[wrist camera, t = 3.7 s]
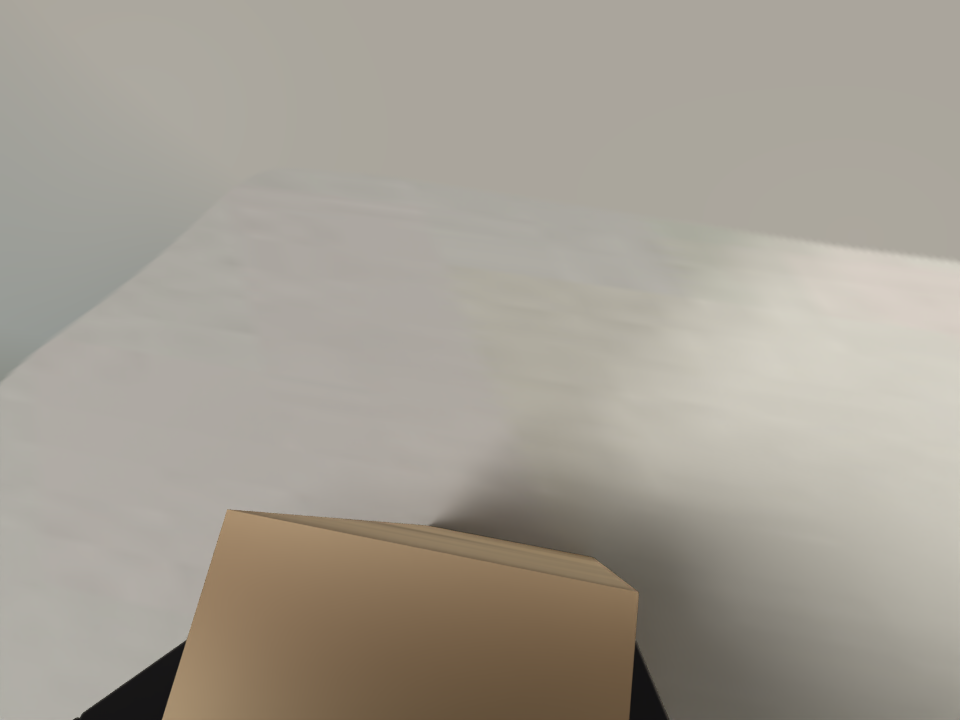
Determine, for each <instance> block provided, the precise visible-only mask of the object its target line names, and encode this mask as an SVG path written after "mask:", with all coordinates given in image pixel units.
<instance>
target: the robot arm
mask: <svg viewBox="0 0 960 720" xmlns="http://www.w3.org/2000/svg"><path fill="white" fill-rule="evenodd" d="M186 641H187V640H186ZM186 641H184V642H183V643H181V644H180V645H179V646H177V647H176V648H174V649H173V650H171V651H170V652H169V653H167V654H166V655H164V656H163V657H162V658H160V659H159V660H157V661H156V662H154V663H153V664H152V665H150V666H149V667H147V668H146V669H144V670H143V671H142V672H140V673H139V674H137V675H136V676H135V677H133V678H132V679H130V680H129V681H127V682H126V683H125V684H123V685H122V686H120V687H119V688H117V689H116V690H115V691H113V692H112V693H110V694H109V695H108V696H106V697H105V698H103V699H102V700H100V701H99V702H98V703H96V704H95V705H93V706H92V707H90V708H89V709H88V710H86V711H85V712H83V713H82V715H81V717H80V718H79V717H77V718H75V719H73V720H162V718H163V715H164V712H165V709H166V705H167V702H168V699H169V696H170V692H171V689H172V686H173V683H174V680H175V676H176V673H177V670H178V667H179V663H180V660H181V657H182V654H183V651H184V647H185V644H186ZM629 720H669V718H668V715H667V713H666V710H665V708H664V706H663V703H662V701H661V699H660V696H659V694H658V691H657V689H656V687H655V684H654V682H653V680H652V677H651V675H650V672H649V670H648V668H647V665H646V663H645V661H644V658H643V656H642V653H641V651H640V649H639V646H638V644H637V642H636V640H635V650H634V662H633V675H632V688H631V701H630V714H629Z"/></svg>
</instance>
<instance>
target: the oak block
mask: <svg viewBox="0 0 960 720" xmlns="http://www.w3.org/2000/svg"><path fill="white" fill-rule="evenodd" d="M638 598H639V592H638V591H637V590H635V589H634V588H633V587H631V586H630V585H629V584H627V583H626V582H625V581H623V580H622V579H621V578H620V577H618V576H617V575H616V574H614V573H613V572H612V571H610V570H609V569H608V568H607V567H605V566H604V565H603V564H601V563H600V562H599V561H597V560H596V559H595V558H593V557H589V556H584V555H578V554H573V553H568V552H563V551H558V550H552V549H547V548H542V547H537V546H531V545H526V544H521V543H516V542H511V541H505V540H500V539H495V538H490V537H484V536H479V535H474V534H469V533H464V532H458V531H453V530H448V529H443V528H437V527H432V526H426V525H414V524H401V523H389V522H377V521H364V520H352V519H339V518H327V517H315V516H302V515H290V514H278V513H265V512H253V511H241V510H228V509H227V512H226V515H225V519H224V522H223V525H222V528H221V531H220V535H219V538H218V541H217V544H216V548H215V551H214V554H213V557H212V560H211V564H210V567H209V570H208V573H207V577H206V580H205V583H204V586H203V589H202V593H201V596H200V599H199V602H198V606H197V609H196V612H195V615H194V618H193V622H192V625H191V628H190V631H189V635H188V638H187V641H186V644H185V647H184V651H183V654H182V657H181V660H180V663H179V667H178V670H177V673H176V676H175V680H174V683H173V686H172V689H171V692H170V696H169V699H168V702H167V705H166V709H165V712H164V715H163V718H162V720H629V714H630V701H631V688H632V675H633V662H634V650H635V637H636V624H637V611H638Z"/></svg>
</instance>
